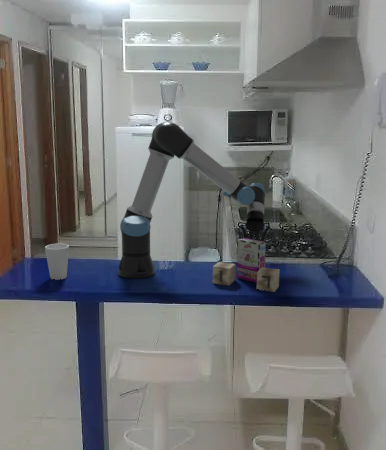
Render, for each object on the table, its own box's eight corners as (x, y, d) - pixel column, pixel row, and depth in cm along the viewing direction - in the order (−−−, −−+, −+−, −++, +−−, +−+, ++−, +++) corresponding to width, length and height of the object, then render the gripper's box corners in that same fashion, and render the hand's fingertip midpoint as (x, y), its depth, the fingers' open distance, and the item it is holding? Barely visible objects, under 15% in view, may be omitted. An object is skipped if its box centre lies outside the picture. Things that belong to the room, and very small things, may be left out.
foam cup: (75, 275, 200) (74, 245, 198) (60, 282, 192) (58, 250, 189) (56, 272, 204) (55, 242, 202) (41, 278, 196) (39, 247, 193)
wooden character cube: (212, 283, 193) (212, 266, 192) (218, 278, 200) (218, 261, 198) (228, 285, 191) (229, 268, 189) (234, 280, 197) (235, 263, 196)
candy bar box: (265, 281, 196) (267, 241, 193) (257, 284, 193) (259, 243, 189) (243, 275, 204) (244, 237, 200) (235, 278, 200) (236, 239, 197)
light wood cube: (256, 289, 187) (257, 272, 185) (261, 284, 193) (262, 267, 192) (274, 292, 184) (275, 274, 182) (278, 286, 190) (279, 269, 189)
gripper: (270, 219, 218) (268, 266, 205) (240, 218, 219) (237, 264, 207) (270, 210, 211) (269, 257, 199) (240, 209, 213) (237, 255, 201)
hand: (253, 261), depth 203 cm, fingers closed
